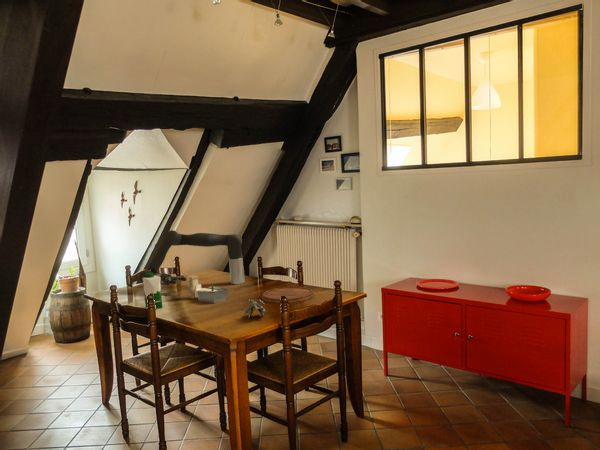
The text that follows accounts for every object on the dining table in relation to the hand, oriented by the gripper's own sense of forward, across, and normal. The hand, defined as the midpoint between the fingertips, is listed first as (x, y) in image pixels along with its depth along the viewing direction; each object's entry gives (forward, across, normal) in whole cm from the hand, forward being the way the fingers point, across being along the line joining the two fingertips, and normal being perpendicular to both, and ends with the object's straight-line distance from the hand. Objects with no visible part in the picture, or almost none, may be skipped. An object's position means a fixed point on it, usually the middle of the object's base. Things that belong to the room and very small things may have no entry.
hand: (180, 280), depth 309 cm
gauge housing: (+27, 0, +10) cm, 29 cm away
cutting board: (+65, +23, +11) cm, 70 cm away
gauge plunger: (+21, 0, +8) cm, 23 cm away
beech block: (+11, 0, +10) cm, 14 cm away
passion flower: (+73, -19, +10) cm, 76 cm away
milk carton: (+6, -28, +9) cm, 30 cm away
